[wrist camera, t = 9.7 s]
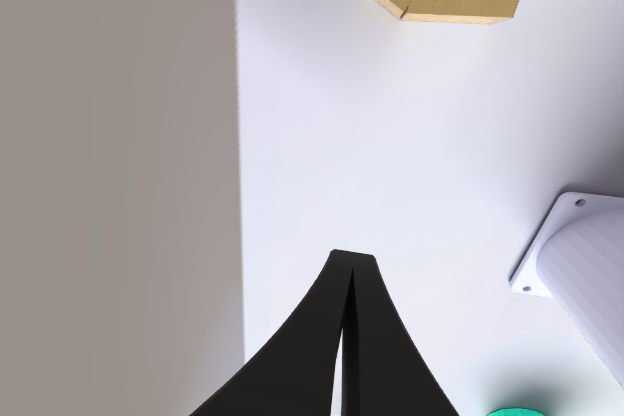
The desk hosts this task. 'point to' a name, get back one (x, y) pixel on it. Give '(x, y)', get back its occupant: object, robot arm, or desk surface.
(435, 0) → the wide wooden arch
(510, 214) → the desk surface
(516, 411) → the candle
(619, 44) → the desk surface
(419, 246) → the desk surface
